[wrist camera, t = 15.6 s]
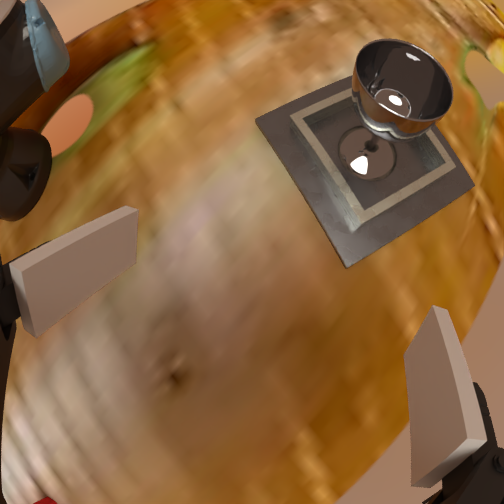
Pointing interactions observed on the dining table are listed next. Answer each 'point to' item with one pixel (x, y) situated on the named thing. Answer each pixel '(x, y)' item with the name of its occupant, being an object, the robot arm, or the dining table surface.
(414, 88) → the wine glass
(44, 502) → the french fries
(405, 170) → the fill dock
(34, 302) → the robot arm
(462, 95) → the dining table surface
